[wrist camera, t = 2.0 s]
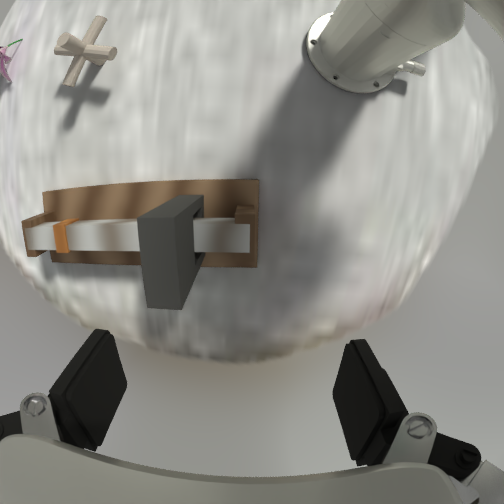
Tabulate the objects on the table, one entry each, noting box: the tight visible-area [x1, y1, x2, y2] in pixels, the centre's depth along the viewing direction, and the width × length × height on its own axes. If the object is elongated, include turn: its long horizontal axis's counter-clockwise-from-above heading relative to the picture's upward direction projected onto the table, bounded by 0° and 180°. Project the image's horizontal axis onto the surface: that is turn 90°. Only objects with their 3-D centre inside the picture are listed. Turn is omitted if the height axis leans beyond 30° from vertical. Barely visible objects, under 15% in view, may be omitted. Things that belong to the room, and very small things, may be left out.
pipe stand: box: [22, 179, 259, 268], centre depth 32 cm, size 32×11×7 cm, turn 89°
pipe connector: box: [54, 16, 117, 87], centre depth 23 cm, size 10×10×10 cm
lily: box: [0, 39, 23, 82], centre depth 21 cm, size 12×12×10 cm
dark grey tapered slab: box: [137, 195, 205, 310], centre depth 27 cm, size 3×8×14 cm, turn 179°
